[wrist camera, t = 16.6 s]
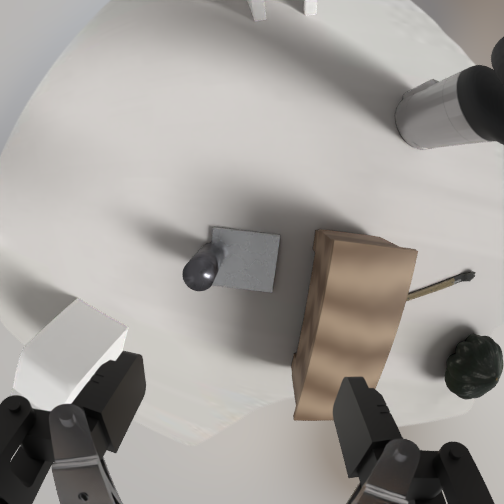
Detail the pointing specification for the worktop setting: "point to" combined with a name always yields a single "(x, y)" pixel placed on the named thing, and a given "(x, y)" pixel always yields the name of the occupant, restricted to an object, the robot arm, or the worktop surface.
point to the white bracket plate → (259, 10)
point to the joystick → (234, 261)
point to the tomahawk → (441, 285)
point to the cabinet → (348, 316)
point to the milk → (67, 355)
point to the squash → (474, 367)
